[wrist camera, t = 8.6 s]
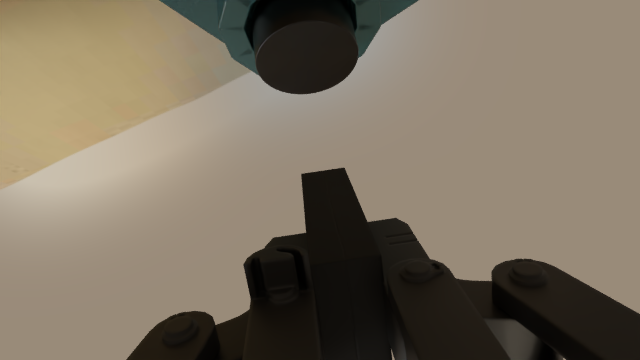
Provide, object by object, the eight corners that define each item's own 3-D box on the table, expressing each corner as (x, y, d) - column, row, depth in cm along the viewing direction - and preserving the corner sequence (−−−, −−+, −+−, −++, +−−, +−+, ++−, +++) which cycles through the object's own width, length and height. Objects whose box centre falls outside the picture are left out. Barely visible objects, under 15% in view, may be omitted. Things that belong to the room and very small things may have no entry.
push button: (230, 22, 21) (233, 63, 20) (306, -41, 19) (315, 1, 18) (296, 69, 25) (302, 106, 24) (368, 21, 22) (378, 59, 21)
